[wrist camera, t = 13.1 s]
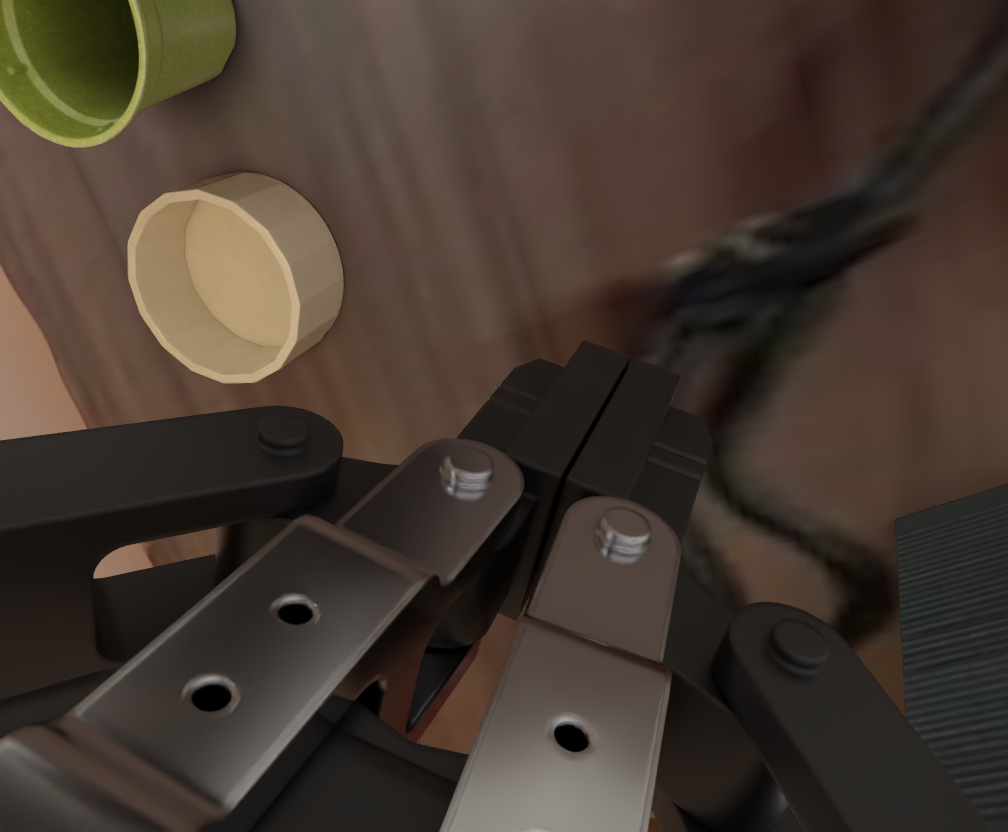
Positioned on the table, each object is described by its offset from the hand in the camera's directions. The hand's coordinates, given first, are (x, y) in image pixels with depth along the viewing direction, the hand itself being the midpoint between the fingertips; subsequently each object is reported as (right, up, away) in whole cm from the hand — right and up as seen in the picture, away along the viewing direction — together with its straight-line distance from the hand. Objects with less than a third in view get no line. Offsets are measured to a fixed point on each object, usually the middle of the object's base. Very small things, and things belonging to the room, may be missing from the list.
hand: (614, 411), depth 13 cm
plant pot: (-17, +19, +31) cm, 40 cm away
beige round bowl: (-15, +8, +35) cm, 39 cm away
